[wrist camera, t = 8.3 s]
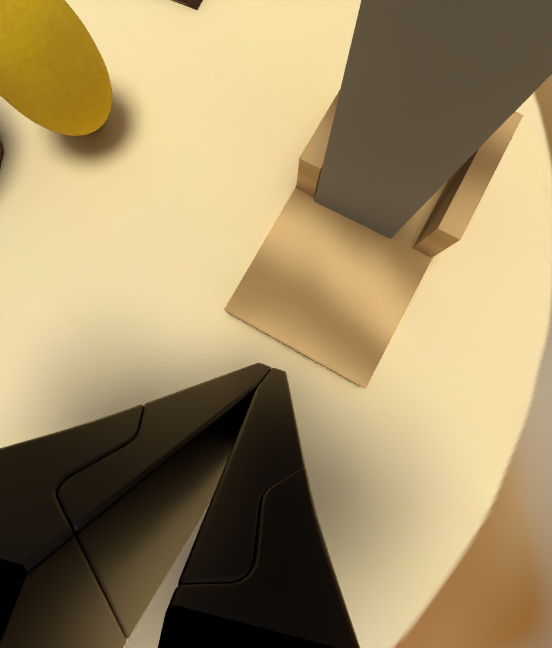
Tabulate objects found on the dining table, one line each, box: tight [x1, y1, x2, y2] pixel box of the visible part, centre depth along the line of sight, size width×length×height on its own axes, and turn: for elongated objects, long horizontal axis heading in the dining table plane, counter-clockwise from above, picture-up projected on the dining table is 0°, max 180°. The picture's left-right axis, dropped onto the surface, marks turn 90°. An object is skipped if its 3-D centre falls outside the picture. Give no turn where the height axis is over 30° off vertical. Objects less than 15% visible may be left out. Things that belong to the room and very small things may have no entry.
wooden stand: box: [224, 90, 523, 388], centre depth 13 cm, size 16×9×7 cm, turn 151°
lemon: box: [0, 0, 112, 136], centre depth 14 cm, size 6×6×8 cm
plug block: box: [314, 0, 552, 239], centre depth 10 cm, size 6×5×12 cm
